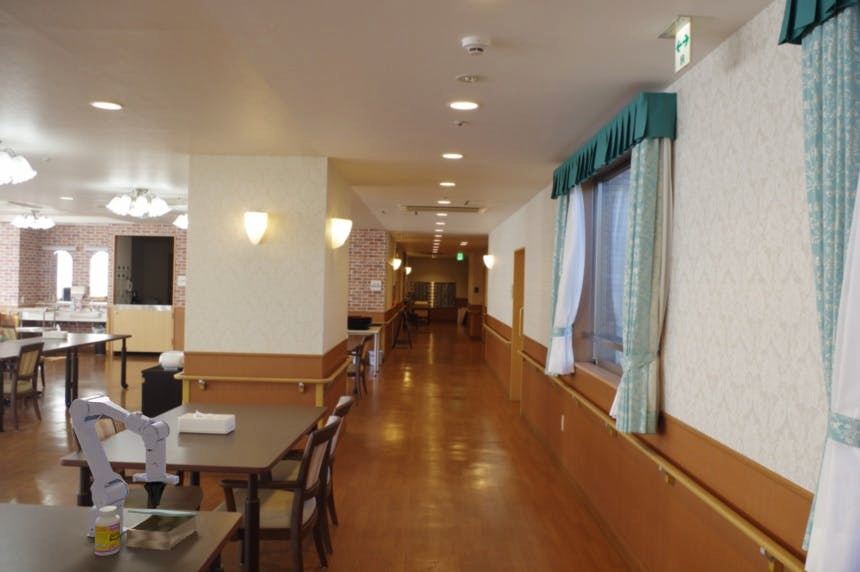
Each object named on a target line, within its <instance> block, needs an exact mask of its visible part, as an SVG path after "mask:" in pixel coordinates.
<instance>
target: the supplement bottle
mask: <svg viewBox="0 0 860 572" xmlns="http://www.w3.org/2000/svg"><path fill="white" fill-rule="evenodd" d="M116 512H117V507H116V506H105V507H102V508H100V509H99V515H100V517H98V518H97V519H96V521H95V537H94V553H95V555H97V556H102V557H107V556H111V555H114V554H116V553H118V552H119V551H120V550H121V535H120V517H119V516H118V515H116Z"/></svg>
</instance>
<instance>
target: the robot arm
mask: <svg viewBox="0 0 860 572" xmlns="http://www.w3.org/2000/svg"><path fill="white" fill-rule="evenodd" d="M68 413H69V415H70V418H71V421H72V427H73V431H74V433H75V435H76V437H77V440H78V443H79V445H80V448H81V450H82V452H83V455H84V457H85V460H86V463H87V464H88V467H89V469H90V472H91V475H92V476H93V478H94V480H93V483H92V484H91V485H90V488H89V489H90V491H91V500H92V503H93V506H91V509H90V510H89V513H88V534H86V537H92V538H95V521H96V519H97V518H98V517H100V515H99V509H100V508H102V507H105V506H116V507H117V512H116V515H118V516H119V517H120V536H121V535H122V534H124V533H125V532H126V533H127V529H129V528H130V527H127V526H124V503H125V502H126V500H125V499H126V498H127V497H128V495H129V493H130V489H129V485H128V483H127V482H126V481H125V480H124V479H123V477H122V475H121V474H119V473H117V472H115V471H113V469H112V467H111V464H110V461H109V459H108V457H107V453H106V451H105V449H104V447H103V445H102V442H101V439H100V437H99V435H98V432H97V430H96V428H95V425H96V423H97V422H98V420H99V419H100V418H101V416H103V415H105V416H107V417H110V418H112V419H114V420H117V421H119V422H122V423H123V425H124V428H125V429H127V430H128V431H131V432H133V433H135V434H136V435H139V436H140V437H141V439H142V441H143V443H144V448H145V472H144V473H143V472H142V473H135V474H132V482H145V484H143V488H144V490H145V491H146V493H147V494H148V498H149V501H150V503H151V506H152V507H154V508H155V507H158V506H160V504H161V500H162V496H163V493H164V491H165V489H166V486H167V485H168V484H172V485H177V484H178V483H180V476H178V475H173V474H169V473H166V471H167V464H166V463H167V455H166V454H167V451H166V450H167V446H166V445H167V442H166V441H167V438H168V437H169V435H170V433H171V429H170V426H169V424H168V423H167V422H166V421H165V420H158V421H156V420H155V418H153V417H149V416H146V415H144V414H143V412H142V411H140V410H139V411H132V412H130V411H128V410H127V409H126V408H123V407H122V406H120V405H118V404H116V403H115V402H113V401H112V400H110V397H109V396H105V395H104V394H102V393H96V394H94V395H90V396H85V397H82V398H75V399H74V400H73V401H72V402H71V404H70V407H69V408H68Z"/></svg>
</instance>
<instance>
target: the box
mask: <svg viewBox="0 0 860 572" xmlns="http://www.w3.org/2000/svg"><path fill="white" fill-rule="evenodd" d="M128 528H129V529H127V531H126V547H129V546H131V547H130V548H139V547H141V549H149V550H150V549H151V550H159V549H160V550H159V551H161V550H162V551H170V550H172V549H173V548H175V547H176V546H177V545H178V543H179V542H180V543H181V542H182V540H183V539H184V540H185V539H187V538H188V537H189V535H190V534H191V535H193V534H194V533H195V532H196V531H197V515H188V516H162V515H151V514H149V516H147V517H146V518H144V519H142V520H140V521H139V522H138V523H135V524H134V525H132V526H131V527H128ZM194 531H195V532H194ZM193 532H194V533H193ZM191 535H190V536H191ZM187 536H188V537H187ZM186 537H187V538H186ZM184 540H183V541H184ZM180 543H179V544H180ZM176 544H177V545H176ZM175 545H176V546H175ZM172 547H173V548H172ZM171 548H172V549H171Z"/></svg>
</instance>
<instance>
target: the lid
mask: <svg viewBox="0 0 860 572" xmlns="http://www.w3.org/2000/svg"><path fill="white" fill-rule="evenodd" d="M127 513H129V514H130V513H131V514H132V513H133V514H141V515H162V516H188V515H196V516H198V512H189V511H177V510H165V509H131V510H130V509H128V510H127Z"/></svg>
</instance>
